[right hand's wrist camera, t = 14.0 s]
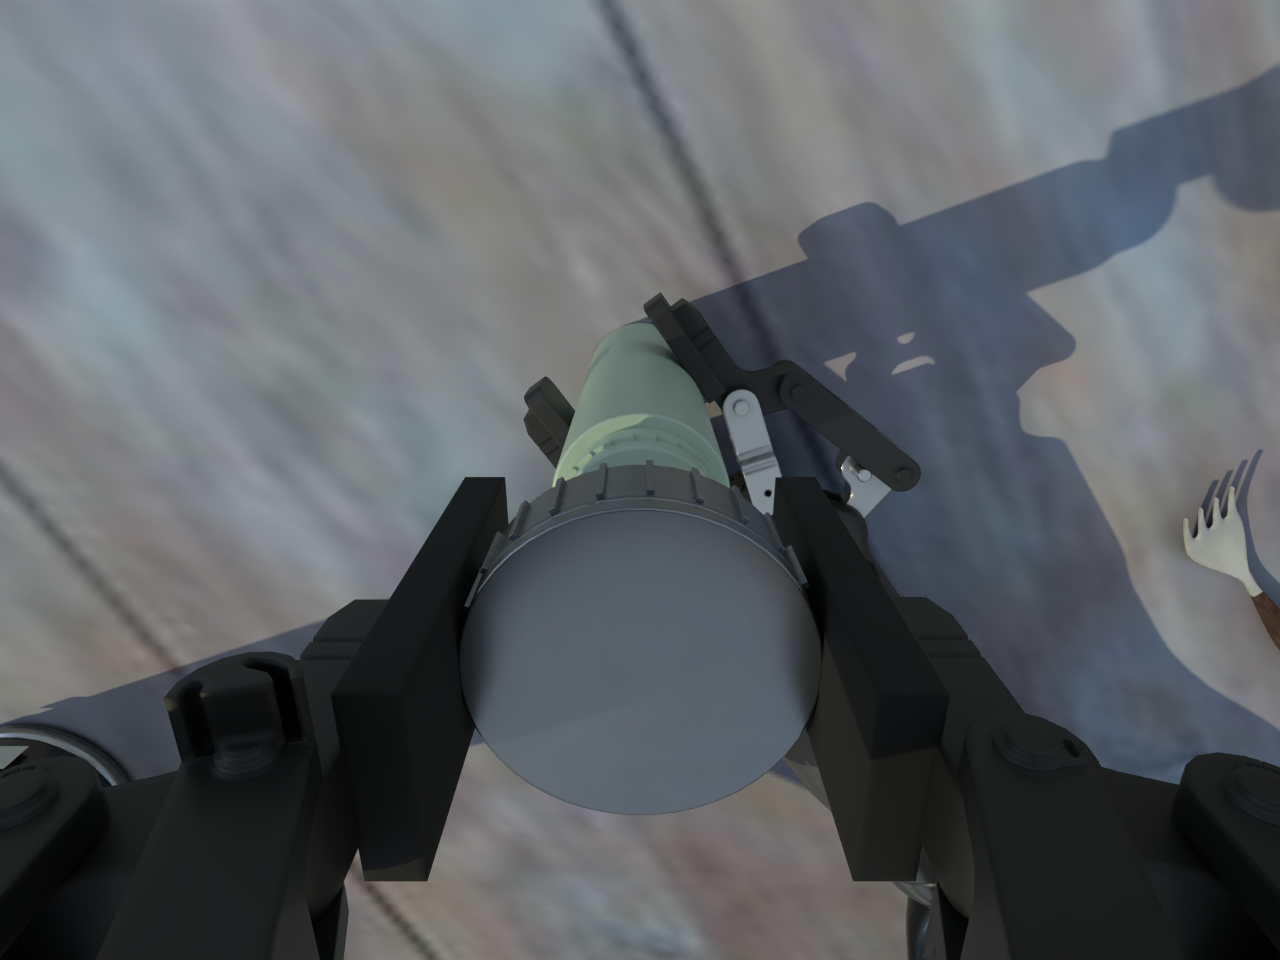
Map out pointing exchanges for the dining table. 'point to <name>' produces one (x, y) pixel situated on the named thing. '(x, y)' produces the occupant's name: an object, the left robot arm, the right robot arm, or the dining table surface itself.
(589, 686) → the lid
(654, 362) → the bottle
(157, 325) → the dining table surface
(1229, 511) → the fork
